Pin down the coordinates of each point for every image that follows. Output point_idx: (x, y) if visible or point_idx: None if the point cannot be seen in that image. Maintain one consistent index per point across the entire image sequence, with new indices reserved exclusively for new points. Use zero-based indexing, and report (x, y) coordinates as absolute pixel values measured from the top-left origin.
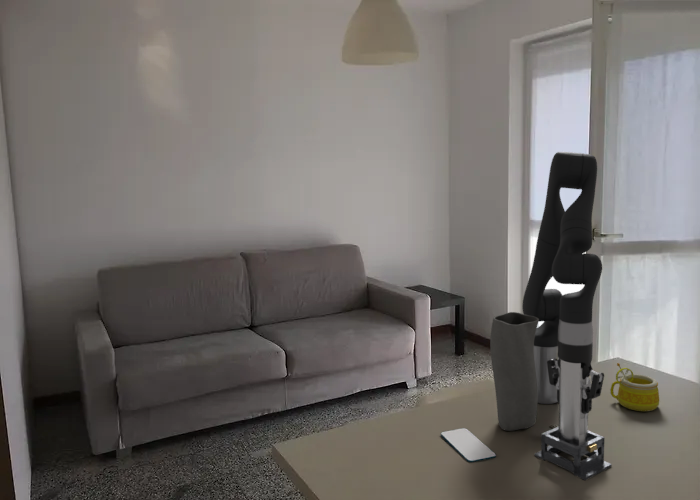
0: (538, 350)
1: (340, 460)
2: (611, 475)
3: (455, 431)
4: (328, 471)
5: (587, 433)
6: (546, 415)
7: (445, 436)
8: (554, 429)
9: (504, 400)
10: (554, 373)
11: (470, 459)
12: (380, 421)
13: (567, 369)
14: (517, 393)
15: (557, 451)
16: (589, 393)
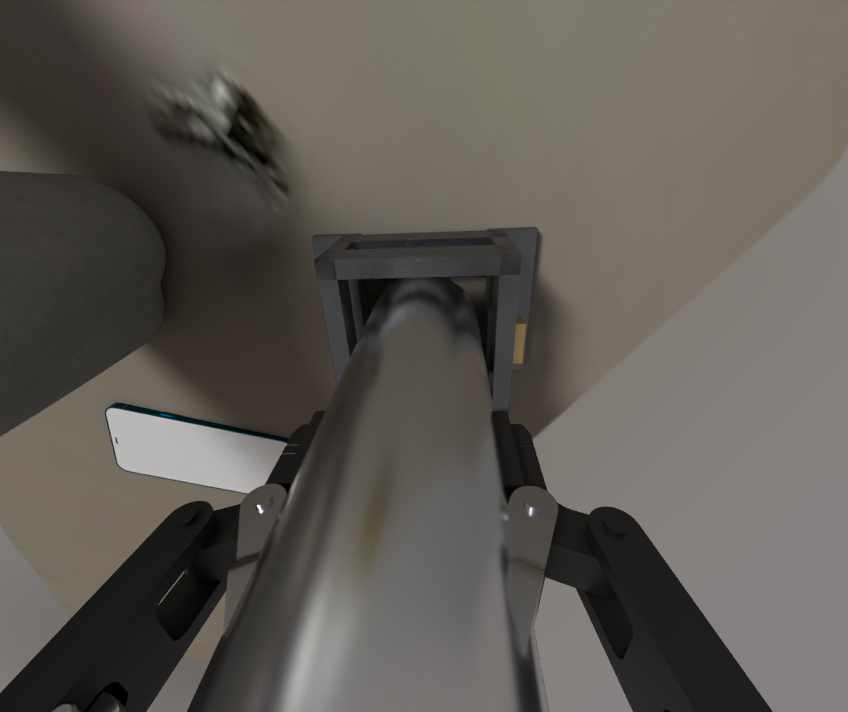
0: None
1: None
2: (564, 280)
3: (122, 438)
4: (214, 640)
5: (478, 334)
6: (36, 27)
7: (146, 471)
8: (340, 362)
9: (55, 401)
10: (165, 648)
11: None
12: (12, 514)
13: None
14: (27, 376)
15: (367, 313)
16: (568, 582)
